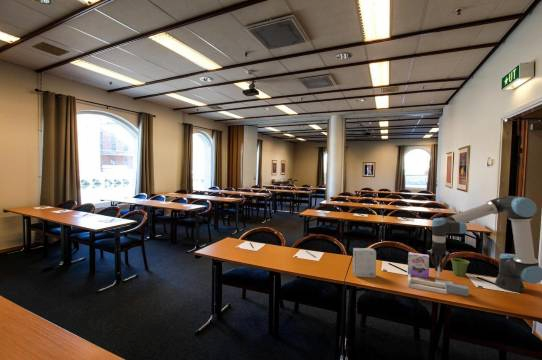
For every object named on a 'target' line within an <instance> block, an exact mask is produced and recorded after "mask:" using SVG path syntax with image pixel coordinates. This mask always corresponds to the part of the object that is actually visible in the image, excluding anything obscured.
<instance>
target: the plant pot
mask: <svg viewBox="0 0 542 360" xmlns="http://www.w3.org/2000/svg"><path fill="white" fill-rule="evenodd" d="M450 260H451V264H452V266H451V267H452V272H453V275H455V276H459V277H465V276H466V273H467V270H468V266H469V264H470V261H469V260H466V259H463V258H455V257H451V258H450Z"/></svg>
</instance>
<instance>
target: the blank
mask: <svg viewBox="0 0 542 360" xmlns="http://www.w3.org/2000/svg"><path fill="white" fill-rule="evenodd" d="M444 289H445V290H447V291H446V294H447V293H448V294H453V295H458V296H465V297H469V287H468V286H467V285H463V284H462V285H461V284H455V283H453V284H451V283H445V287H444Z"/></svg>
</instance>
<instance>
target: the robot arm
mask: <svg viewBox="0 0 542 360" xmlns="http://www.w3.org/2000/svg"><path fill="white" fill-rule="evenodd" d="M537 210H538V209H537V205H536V202H534V201H533V200H532V199H530V198H528V197H523V196H513V195H504V196H499V197H495V198H493V199H490V200H488V201H486V202H485V203H484V204H481V205H478V206H476V207H472V208H470V209H467V210H465V211H461V212H459V213H455V214H453V215H450V216H448V217H447V216H446V217H436V218H432V223H431V227H432V234H431V236H432V238H431V239H432V242H431V249H430V250H429V249H428V250H427V254H428V255H429V259H430V260H431V264H432V266H434V270H435V272H436V276H437V278H440V277H441V273H442V272H443V268H445V267H446V265H447V263H448V259H449V257H450V256H451V253H450V252H449V251H447V249H446V240H447V239H446V236H447V234H459V235H460V234H461V235H462V234H466V233H467V231H468V227H467V225H466V224H467V223H469V222H472V221H475V220H477V219H481V218H483V217H486V216H489V215H498V214H503V213H506V215H507V219H508V220H510V221H511V229H512V235H513V237H512V238H513V244H514V250H515V251H514V252H515V254H514V253H500V254H499V258H498V259H499V263H498V264H499V265H498V275H497V276H496V279H495V281H494V284H495V286H497V288H500V289H503V290H506V291H510V292H515V293H524V292H525V291H526V287H525V283H526V282H527V283H530V284H539V283H541V282H542V267H541V266H540V264H539V263H540V262H539V260H538V259H537V258H536V257H535V249H534V242H533V235H532V228H531V227H532V226H531V220H533V218H534V217H533V216H534V215H535V214H536V213H537ZM433 254H434V256H435V257H434V258H433ZM444 255H445V256H444ZM443 256H444V259H443ZM438 259H439V260H438ZM438 262H439V265H438ZM524 282H525V283H524Z"/></svg>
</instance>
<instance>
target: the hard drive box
mask: <svg viewBox="0 0 542 360" xmlns="http://www.w3.org/2000/svg"><path fill="white" fill-rule="evenodd" d="M352 274H353V276H354V277H356V278H375V279H376V278H377V277H376V276H377V251H376V250H375V249H374V248H367V247H365V248H364V247H363V248H361V247H353V248H352Z"/></svg>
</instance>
